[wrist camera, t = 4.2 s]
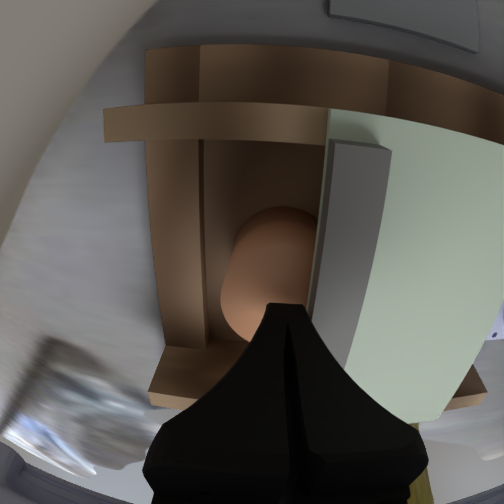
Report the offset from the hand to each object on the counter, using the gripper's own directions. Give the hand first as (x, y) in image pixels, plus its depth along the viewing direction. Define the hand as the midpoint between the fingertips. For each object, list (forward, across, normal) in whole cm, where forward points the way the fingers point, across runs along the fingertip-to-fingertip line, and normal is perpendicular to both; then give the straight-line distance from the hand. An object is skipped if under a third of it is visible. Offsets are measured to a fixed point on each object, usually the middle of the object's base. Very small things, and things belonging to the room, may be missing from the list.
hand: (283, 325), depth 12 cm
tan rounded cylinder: (+6, 0, 0) cm, 6 cm away
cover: (+1, -5, 0) cm, 5 cm away
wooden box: (+6, -4, 0) cm, 7 cm away
